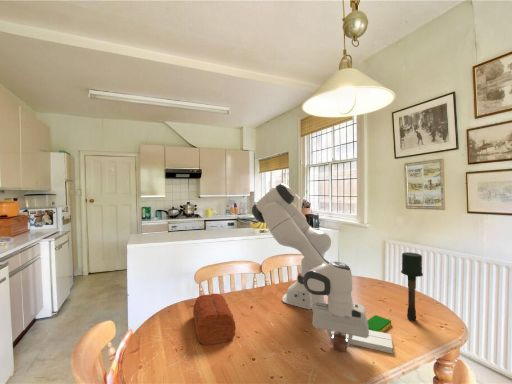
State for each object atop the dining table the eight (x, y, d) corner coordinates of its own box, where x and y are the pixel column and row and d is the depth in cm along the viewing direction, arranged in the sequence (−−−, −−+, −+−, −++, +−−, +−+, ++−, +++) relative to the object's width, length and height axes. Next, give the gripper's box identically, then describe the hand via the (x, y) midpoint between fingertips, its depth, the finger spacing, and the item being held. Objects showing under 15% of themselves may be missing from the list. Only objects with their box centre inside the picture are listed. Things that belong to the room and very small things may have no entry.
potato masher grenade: (426, 325, 115) (426, 256, 115) (404, 322, 117) (404, 255, 117) (418, 315, 123) (418, 252, 123) (398, 314, 125) (398, 251, 125)
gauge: (333, 350, 97) (333, 334, 97) (337, 332, 109) (337, 318, 109) (344, 352, 95) (344, 336, 95) (347, 334, 107) (347, 320, 107)
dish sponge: (360, 330, 111) (360, 324, 111) (375, 319, 120) (375, 314, 120) (377, 337, 106) (377, 331, 106) (391, 325, 115) (391, 320, 115)
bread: (224, 310, 129) (224, 289, 129) (237, 340, 103) (237, 313, 103) (192, 315, 124) (192, 293, 124) (197, 347, 98) (197, 319, 98)
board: (330, 339, 103) (330, 334, 103) (333, 327, 113) (333, 322, 113) (392, 353, 95) (392, 347, 95) (390, 339, 104) (390, 334, 104)
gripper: (310, 304, 99) (310, 341, 99) (369, 315, 91) (368, 354, 91) (313, 298, 105) (313, 332, 105) (369, 307, 97) (368, 344, 97)
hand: (339, 343), depth 98 cm, fingers closed on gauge, 4 cm apart
